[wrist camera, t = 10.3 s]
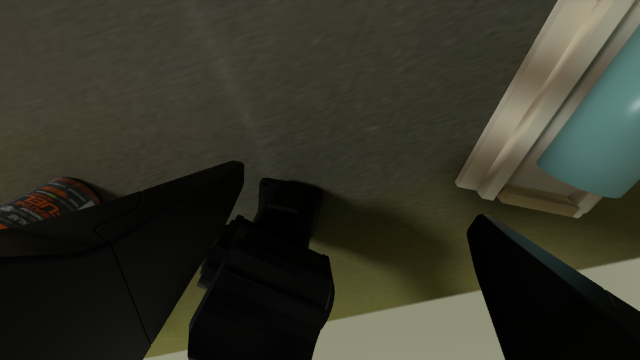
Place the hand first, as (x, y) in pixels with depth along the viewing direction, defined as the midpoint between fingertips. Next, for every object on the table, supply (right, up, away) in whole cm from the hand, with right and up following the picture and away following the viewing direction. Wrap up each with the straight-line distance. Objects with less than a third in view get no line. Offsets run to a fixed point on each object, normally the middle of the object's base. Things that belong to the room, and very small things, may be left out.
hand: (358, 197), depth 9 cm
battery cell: (+18, +6, +8) cm, 21 cm away
